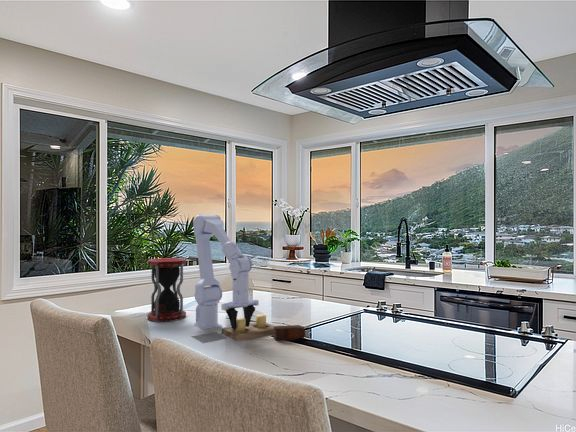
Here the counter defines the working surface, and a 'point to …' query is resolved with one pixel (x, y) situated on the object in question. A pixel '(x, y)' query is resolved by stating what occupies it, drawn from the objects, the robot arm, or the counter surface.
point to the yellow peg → (240, 325)
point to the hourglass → (166, 289)
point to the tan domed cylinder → (260, 321)
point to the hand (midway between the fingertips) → (240, 327)
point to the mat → (209, 337)
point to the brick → (288, 332)
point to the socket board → (249, 332)
